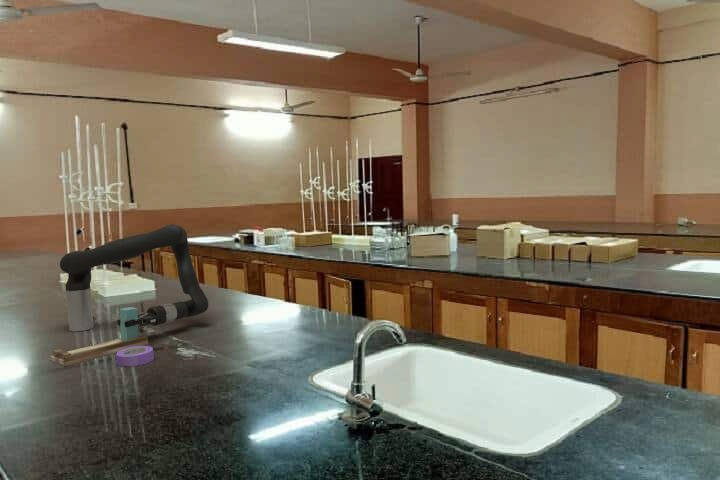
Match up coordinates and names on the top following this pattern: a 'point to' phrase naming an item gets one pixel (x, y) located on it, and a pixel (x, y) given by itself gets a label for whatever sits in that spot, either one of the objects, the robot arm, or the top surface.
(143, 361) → the masking tape
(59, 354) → the board
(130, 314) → the block
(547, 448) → the top surface
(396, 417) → the top surface
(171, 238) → the robot arm
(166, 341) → the top surface
